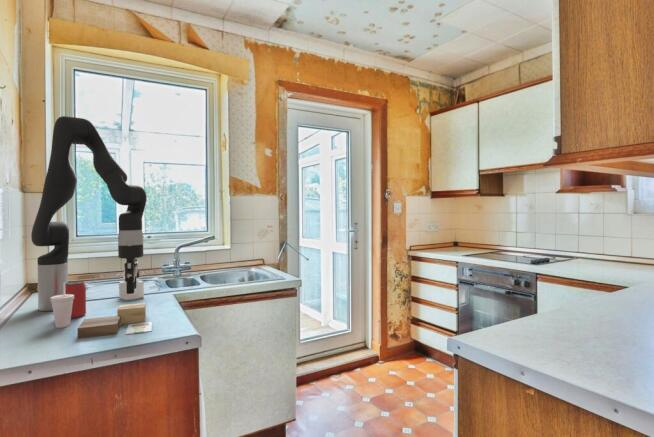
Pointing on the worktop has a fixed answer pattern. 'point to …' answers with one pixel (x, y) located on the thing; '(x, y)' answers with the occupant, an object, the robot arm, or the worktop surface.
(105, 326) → the base slab
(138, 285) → the medicine bottle
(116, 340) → the worktop surface
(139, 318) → the oak brick
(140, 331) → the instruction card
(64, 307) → the smoothie
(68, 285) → the beer can
